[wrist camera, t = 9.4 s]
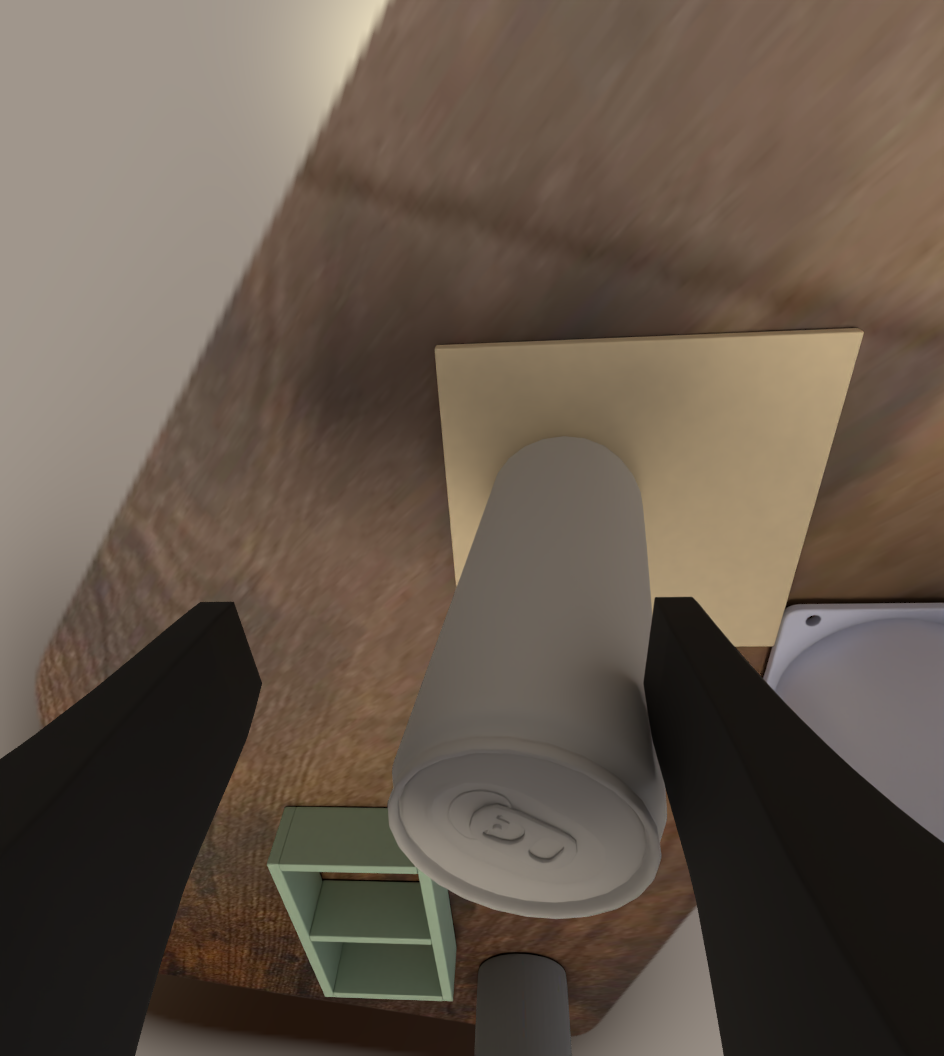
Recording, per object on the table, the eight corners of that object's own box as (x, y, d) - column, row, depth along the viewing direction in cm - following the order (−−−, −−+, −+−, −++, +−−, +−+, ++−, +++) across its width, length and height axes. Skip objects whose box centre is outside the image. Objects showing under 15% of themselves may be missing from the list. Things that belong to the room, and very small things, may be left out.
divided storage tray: (435, 808, 32) (429, 867, 29) (456, 946, 40) (453, 1001, 38) (284, 806, 32) (265, 864, 30) (336, 942, 41) (324, 997, 38)
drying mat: (858, 327, 18) (864, 331, 17) (770, 639, 24) (774, 646, 24) (435, 344, 19) (434, 349, 18) (462, 641, 25) (461, 648, 25)
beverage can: (534, 401, 19) (442, 694, 9) (674, 473, 19) (736, 833, 9) (470, 520, 22) (344, 849, 12) (594, 581, 22) (575, 953, 12)
